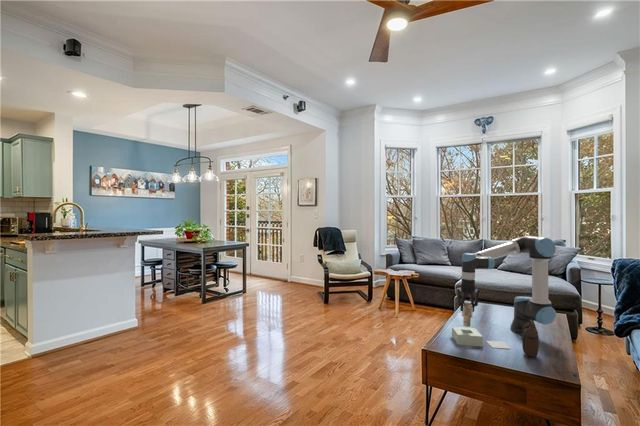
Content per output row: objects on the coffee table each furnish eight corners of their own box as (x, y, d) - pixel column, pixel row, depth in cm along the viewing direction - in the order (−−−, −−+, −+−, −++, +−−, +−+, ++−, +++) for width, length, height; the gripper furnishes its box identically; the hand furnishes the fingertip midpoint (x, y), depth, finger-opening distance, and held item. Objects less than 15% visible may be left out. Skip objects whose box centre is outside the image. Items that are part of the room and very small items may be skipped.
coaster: (503, 342, 205) (503, 341, 205) (510, 349, 195) (510, 348, 195) (486, 341, 206) (486, 340, 206) (492, 347, 196) (492, 347, 196)
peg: (469, 324, 207) (469, 302, 207) (471, 327, 203) (471, 304, 203) (462, 324, 208) (463, 301, 208) (464, 326, 204) (465, 303, 204)
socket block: (474, 337, 212) (475, 328, 212) (482, 346, 198) (482, 336, 198) (451, 336, 213) (451, 326, 213) (457, 344, 200) (458, 334, 200)
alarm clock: (520, 350, 194) (521, 315, 194) (535, 353, 190) (536, 317, 190) (522, 360, 181) (523, 323, 181) (538, 363, 177) (539, 325, 177)
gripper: (480, 278, 208) (479, 315, 208) (452, 276, 210) (451, 314, 210) (485, 280, 200) (483, 319, 201) (455, 279, 203) (454, 317, 203)
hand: (467, 316), depth 205 cm, fingers closed on peg, 4 cm apart
